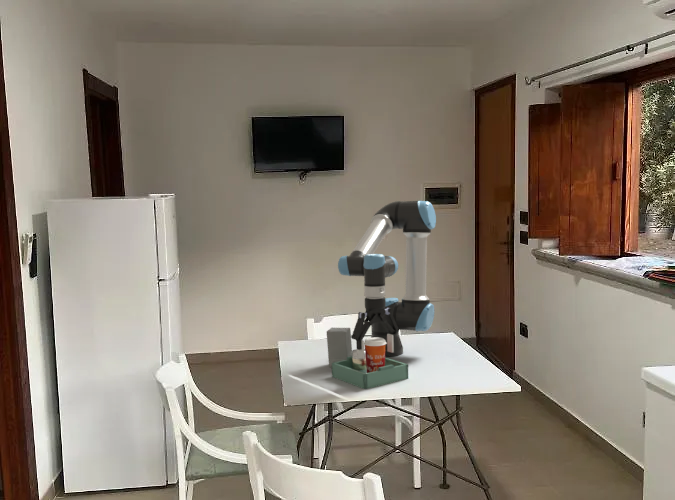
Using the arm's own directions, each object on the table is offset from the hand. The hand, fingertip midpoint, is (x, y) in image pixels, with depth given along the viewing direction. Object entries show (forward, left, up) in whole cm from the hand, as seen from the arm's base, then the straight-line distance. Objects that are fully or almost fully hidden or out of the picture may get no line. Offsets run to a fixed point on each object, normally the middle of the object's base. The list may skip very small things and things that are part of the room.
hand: (376, 355), depth 237 cm
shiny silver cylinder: (-10, 0, -9) cm, 13 cm away
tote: (-4, 0, -10) cm, 11 cm away
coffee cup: (0, 0, -9) cm, 9 cm away
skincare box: (-24, +1, -10) cm, 26 cm away
